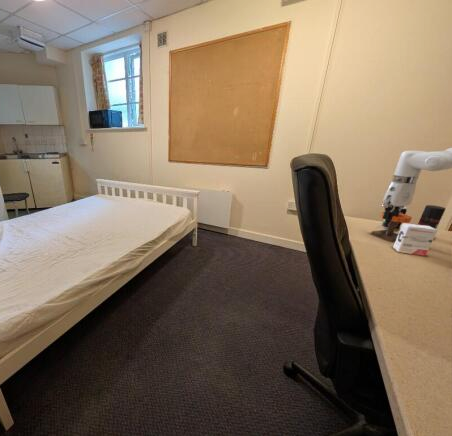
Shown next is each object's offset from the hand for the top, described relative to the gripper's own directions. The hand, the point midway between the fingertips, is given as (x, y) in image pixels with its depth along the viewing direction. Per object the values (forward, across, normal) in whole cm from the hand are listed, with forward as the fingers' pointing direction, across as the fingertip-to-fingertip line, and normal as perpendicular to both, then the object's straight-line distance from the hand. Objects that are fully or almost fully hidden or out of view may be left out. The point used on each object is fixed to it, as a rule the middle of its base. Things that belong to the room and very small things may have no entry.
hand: (389, 218), depth 102 cm
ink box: (+10, -4, -13) cm, 17 cm away
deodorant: (+10, +21, -3) cm, 23 cm away
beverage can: (+10, +17, +8) cm, 21 cm away
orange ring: (0, +4, 0) cm, 4 cm away
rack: (+10, +4, 0) cm, 10 cm away
